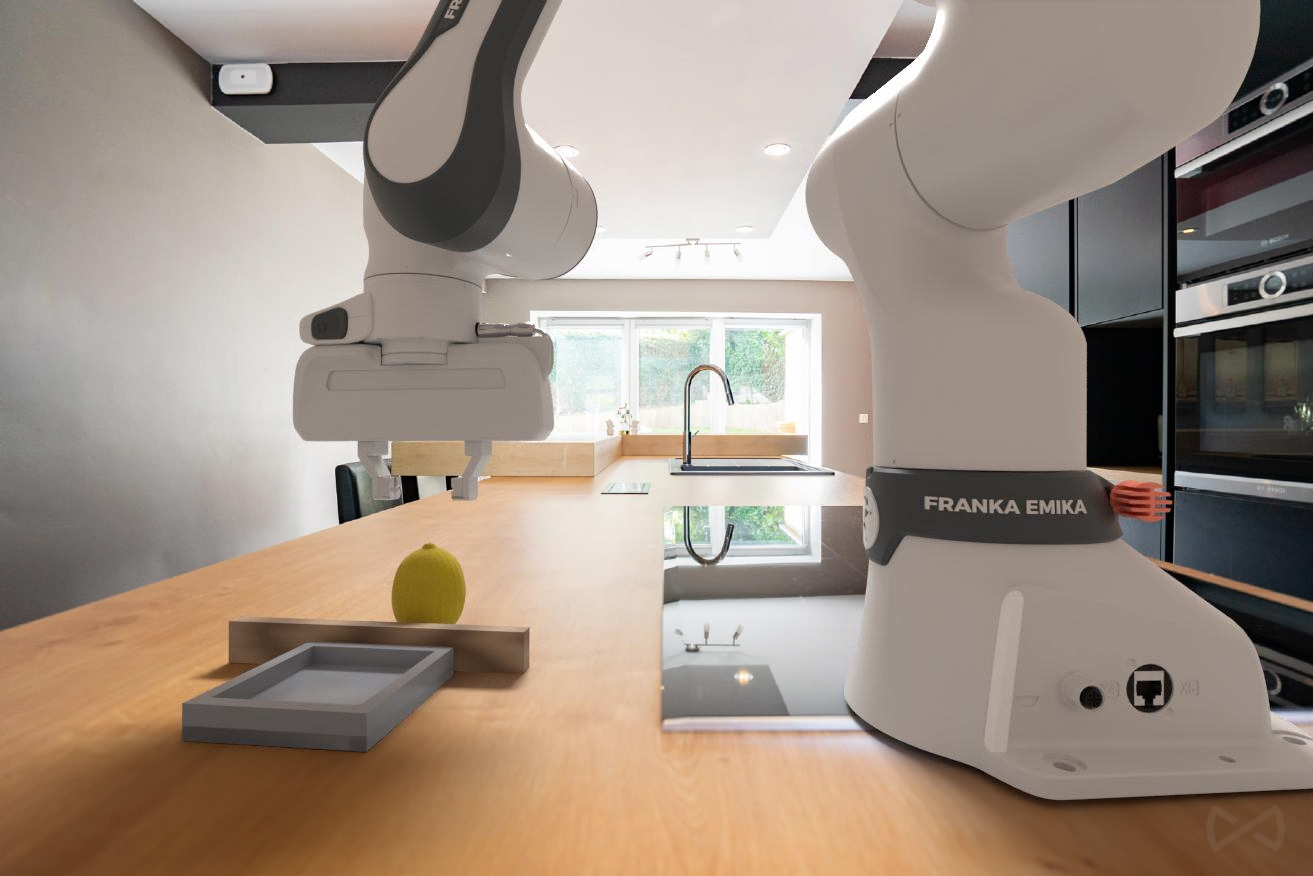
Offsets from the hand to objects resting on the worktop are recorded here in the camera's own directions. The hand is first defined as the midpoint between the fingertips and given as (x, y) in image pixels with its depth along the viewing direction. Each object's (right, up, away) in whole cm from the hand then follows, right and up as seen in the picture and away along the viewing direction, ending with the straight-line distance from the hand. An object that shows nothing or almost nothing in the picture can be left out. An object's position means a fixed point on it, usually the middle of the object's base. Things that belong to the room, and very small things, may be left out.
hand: (425, 499), depth 50 cm
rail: (-2, -11, -5) cm, 13 cm away
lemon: (0, -12, 0) cm, 12 cm away
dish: (-1, -11, -11) cm, 16 cm away
